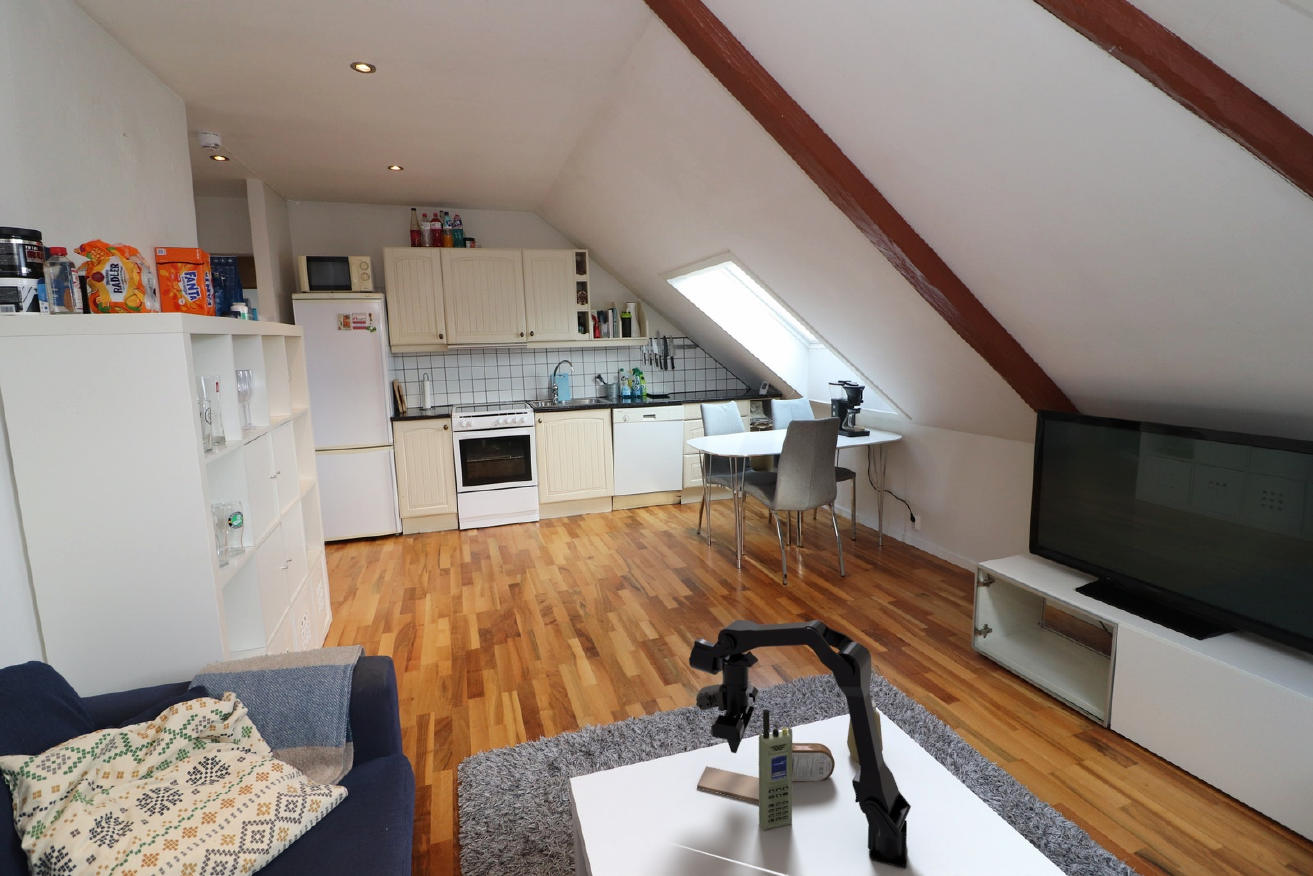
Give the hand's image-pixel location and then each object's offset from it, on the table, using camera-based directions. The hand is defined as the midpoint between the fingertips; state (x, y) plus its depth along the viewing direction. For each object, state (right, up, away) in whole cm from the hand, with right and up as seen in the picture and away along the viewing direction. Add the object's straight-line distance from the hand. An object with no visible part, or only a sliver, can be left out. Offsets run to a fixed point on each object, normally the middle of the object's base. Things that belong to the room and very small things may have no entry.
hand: (736, 747), depth 139 cm
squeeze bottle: (+32, -8, +10) cm, 34 cm away
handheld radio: (+7, -11, -10) cm, 16 cm away
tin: (+15, -9, +3) cm, 17 cm away
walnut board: (0, -10, +1) cm, 10 cm away
